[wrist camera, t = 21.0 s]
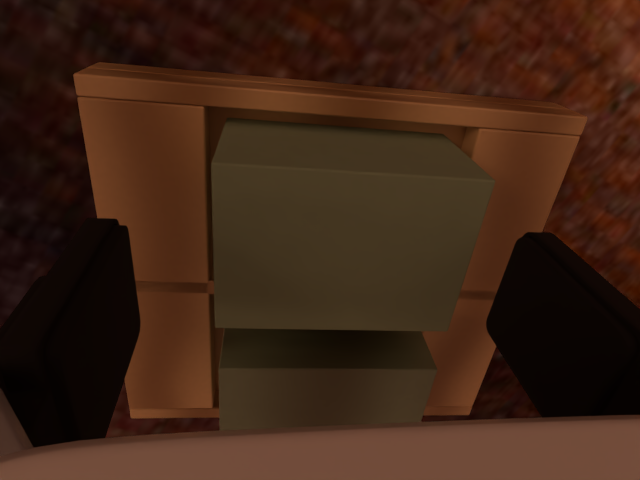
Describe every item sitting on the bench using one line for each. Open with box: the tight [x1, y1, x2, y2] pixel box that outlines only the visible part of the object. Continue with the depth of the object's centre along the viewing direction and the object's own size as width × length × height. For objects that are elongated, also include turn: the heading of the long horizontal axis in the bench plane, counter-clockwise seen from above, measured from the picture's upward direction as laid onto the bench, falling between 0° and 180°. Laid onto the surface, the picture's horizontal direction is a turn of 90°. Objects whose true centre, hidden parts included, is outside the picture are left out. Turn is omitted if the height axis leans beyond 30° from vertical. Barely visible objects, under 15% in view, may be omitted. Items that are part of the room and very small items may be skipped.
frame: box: [73, 62, 588, 431], centre depth 16 cm, size 15×14×5 cm
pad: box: [211, 118, 495, 332], centre depth 14 cm, size 7×5×4 cm
